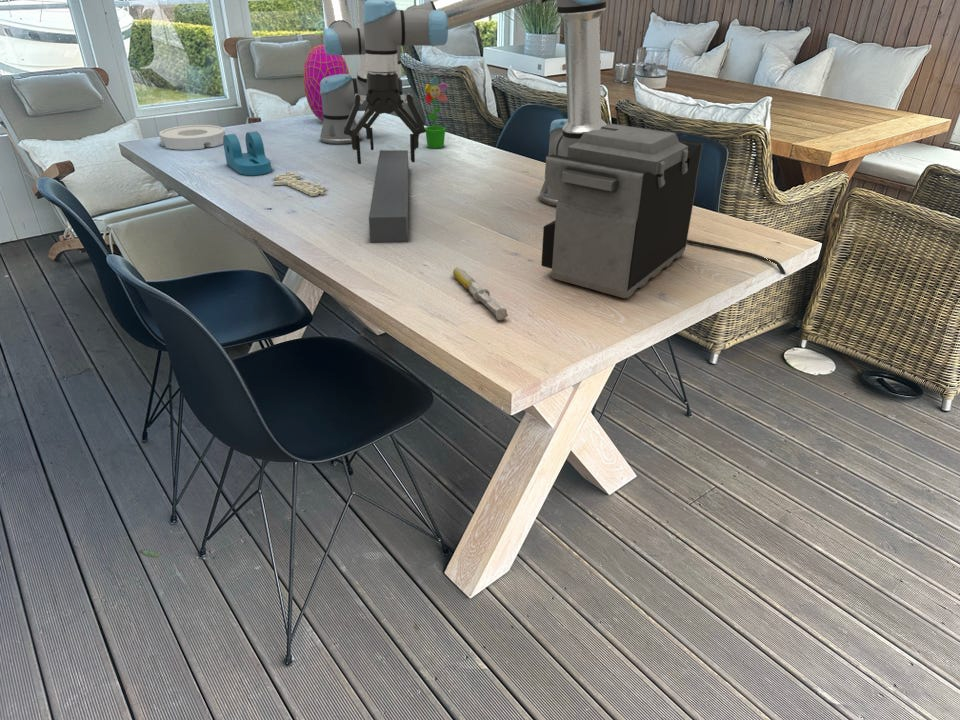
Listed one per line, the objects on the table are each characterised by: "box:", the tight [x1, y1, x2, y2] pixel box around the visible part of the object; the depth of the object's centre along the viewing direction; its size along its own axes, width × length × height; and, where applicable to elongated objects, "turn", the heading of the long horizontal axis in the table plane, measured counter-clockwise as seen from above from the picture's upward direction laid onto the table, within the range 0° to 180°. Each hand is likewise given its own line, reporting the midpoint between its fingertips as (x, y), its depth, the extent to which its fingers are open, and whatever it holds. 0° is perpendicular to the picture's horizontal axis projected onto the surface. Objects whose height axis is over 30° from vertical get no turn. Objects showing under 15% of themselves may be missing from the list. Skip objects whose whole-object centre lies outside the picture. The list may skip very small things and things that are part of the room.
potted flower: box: [424, 75, 451, 149], centre depth 252 cm, size 9×8×25 cm
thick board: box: [368, 149, 410, 243], centre depth 200 cm, size 67×9×6 cm, turn 5°
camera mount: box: [222, 131, 272, 176], centre depth 226 cm, size 18×10×10 cm, turn 35°
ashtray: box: [158, 124, 226, 151], centre depth 259 cm, size 23×23×4 cm
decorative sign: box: [273, 171, 326, 197], centre depth 212 cm, size 26×1×10 cm
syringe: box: [452, 266, 509, 321], centre depth 145 cm, size 25×4×3 cm, turn 21°
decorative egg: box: [303, 44, 350, 122], centre depth 287 cm, size 19×19×30 cm
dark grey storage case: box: [540, 123, 704, 299], centre depth 153 cm, size 37×22×30 cm, turn 144°
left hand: (393, 149), depth 222 cm, fingers open, 13 cm apart
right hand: (386, 162), depth 175 cm, fingers open, 13 cm apart
